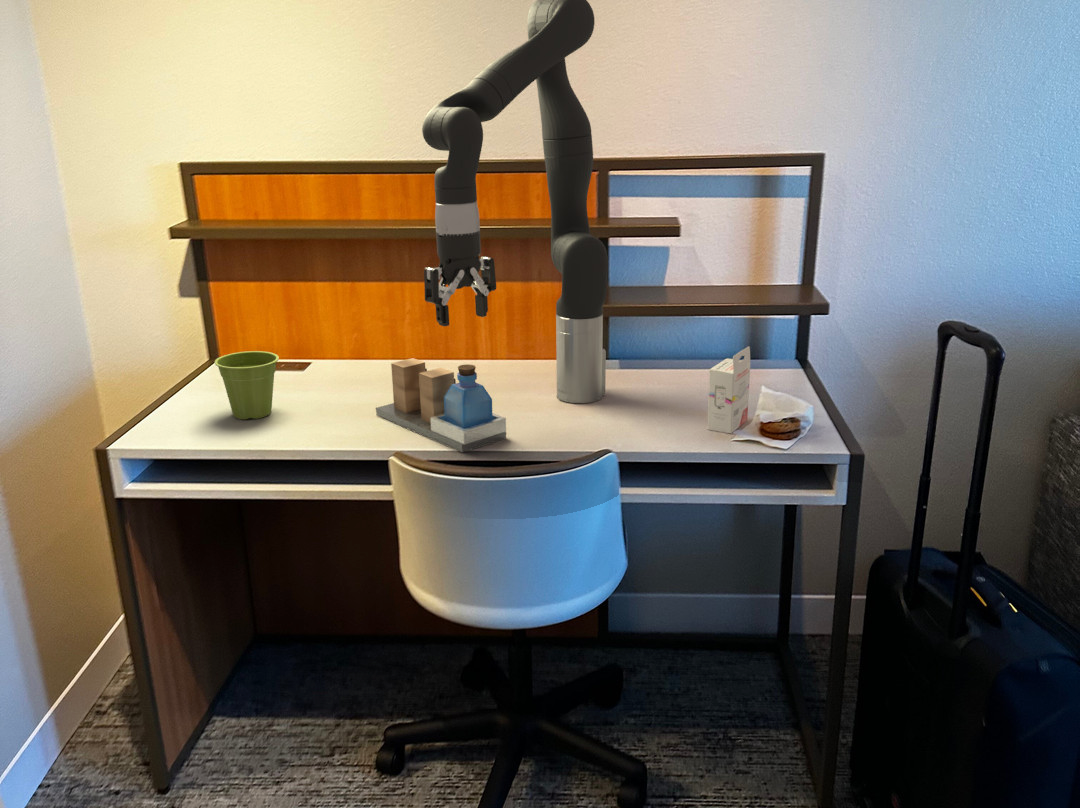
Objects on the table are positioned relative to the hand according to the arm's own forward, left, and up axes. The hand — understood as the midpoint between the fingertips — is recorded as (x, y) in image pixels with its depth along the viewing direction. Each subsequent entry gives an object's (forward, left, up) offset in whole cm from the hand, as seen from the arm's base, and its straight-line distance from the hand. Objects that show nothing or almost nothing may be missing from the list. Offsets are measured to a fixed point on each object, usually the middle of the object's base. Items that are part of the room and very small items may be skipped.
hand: (462, 320), depth 168 cm
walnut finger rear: (+2, -15, -20) cm, 25 cm away
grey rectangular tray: (+2, -6, -21) cm, 22 cm away
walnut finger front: (+2, -6, -20) cm, 21 cm away
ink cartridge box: (-37, +31, -21) cm, 53 cm away
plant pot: (+24, -37, -21) cm, 49 cm away
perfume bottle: (+2, +3, -20) cm, 20 cm away
